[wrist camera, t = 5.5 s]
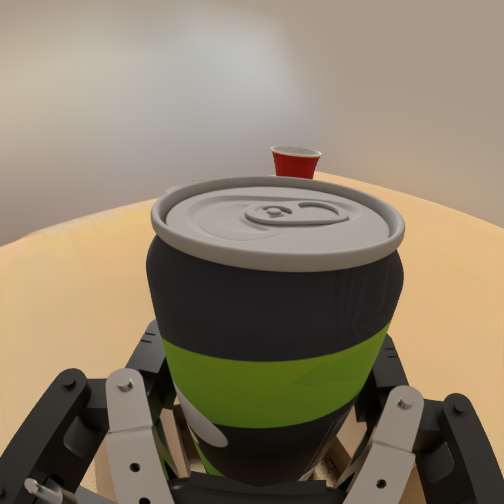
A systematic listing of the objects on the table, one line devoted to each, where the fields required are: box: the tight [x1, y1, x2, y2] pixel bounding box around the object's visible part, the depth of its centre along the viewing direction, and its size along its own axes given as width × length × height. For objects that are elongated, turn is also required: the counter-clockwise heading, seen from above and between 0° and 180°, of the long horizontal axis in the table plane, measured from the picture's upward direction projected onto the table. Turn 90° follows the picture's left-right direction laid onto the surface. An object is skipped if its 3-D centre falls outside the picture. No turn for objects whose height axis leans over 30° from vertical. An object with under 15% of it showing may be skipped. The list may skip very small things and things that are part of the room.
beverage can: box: [146, 176, 405, 487], centre depth 10 cm, size 6×6×15 cm
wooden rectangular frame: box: [94, 396, 416, 503], centre depth 12 cm, size 18×11×2 cm, turn 110°
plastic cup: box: [271, 146, 322, 179], centre depth 58 cm, size 11×11×12 cm
